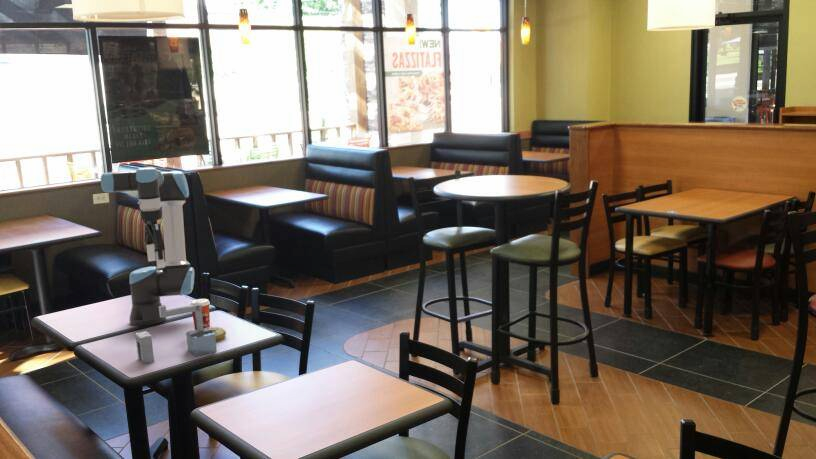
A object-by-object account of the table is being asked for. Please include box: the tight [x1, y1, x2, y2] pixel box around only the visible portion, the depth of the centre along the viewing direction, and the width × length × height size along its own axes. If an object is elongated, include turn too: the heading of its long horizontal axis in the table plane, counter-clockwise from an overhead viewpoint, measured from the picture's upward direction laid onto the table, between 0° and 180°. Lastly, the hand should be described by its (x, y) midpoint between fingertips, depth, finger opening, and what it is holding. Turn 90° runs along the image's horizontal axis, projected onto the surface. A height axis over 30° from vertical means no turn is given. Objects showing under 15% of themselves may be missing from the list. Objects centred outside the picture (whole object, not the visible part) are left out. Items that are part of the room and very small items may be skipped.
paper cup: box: [189, 298, 211, 330], centre depth 299 cm, size 8×8×14 cm
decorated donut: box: [210, 326, 227, 342], centre depth 294 cm, size 10×11×4 cm
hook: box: [135, 330, 155, 365], centre depth 271 cm, size 7×4×10 cm, turn 34°
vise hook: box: [159, 304, 218, 357], centre depth 275 cm, size 10×18×20 cm, turn 124°
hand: (156, 264), depth 279 cm, fingers open, 13 cm apart
